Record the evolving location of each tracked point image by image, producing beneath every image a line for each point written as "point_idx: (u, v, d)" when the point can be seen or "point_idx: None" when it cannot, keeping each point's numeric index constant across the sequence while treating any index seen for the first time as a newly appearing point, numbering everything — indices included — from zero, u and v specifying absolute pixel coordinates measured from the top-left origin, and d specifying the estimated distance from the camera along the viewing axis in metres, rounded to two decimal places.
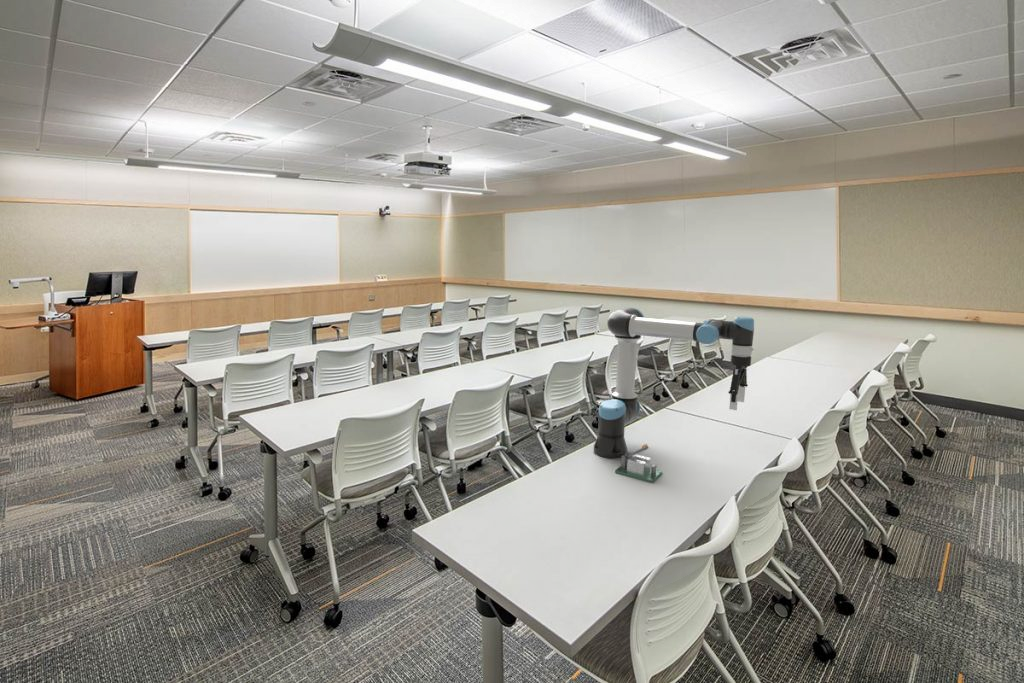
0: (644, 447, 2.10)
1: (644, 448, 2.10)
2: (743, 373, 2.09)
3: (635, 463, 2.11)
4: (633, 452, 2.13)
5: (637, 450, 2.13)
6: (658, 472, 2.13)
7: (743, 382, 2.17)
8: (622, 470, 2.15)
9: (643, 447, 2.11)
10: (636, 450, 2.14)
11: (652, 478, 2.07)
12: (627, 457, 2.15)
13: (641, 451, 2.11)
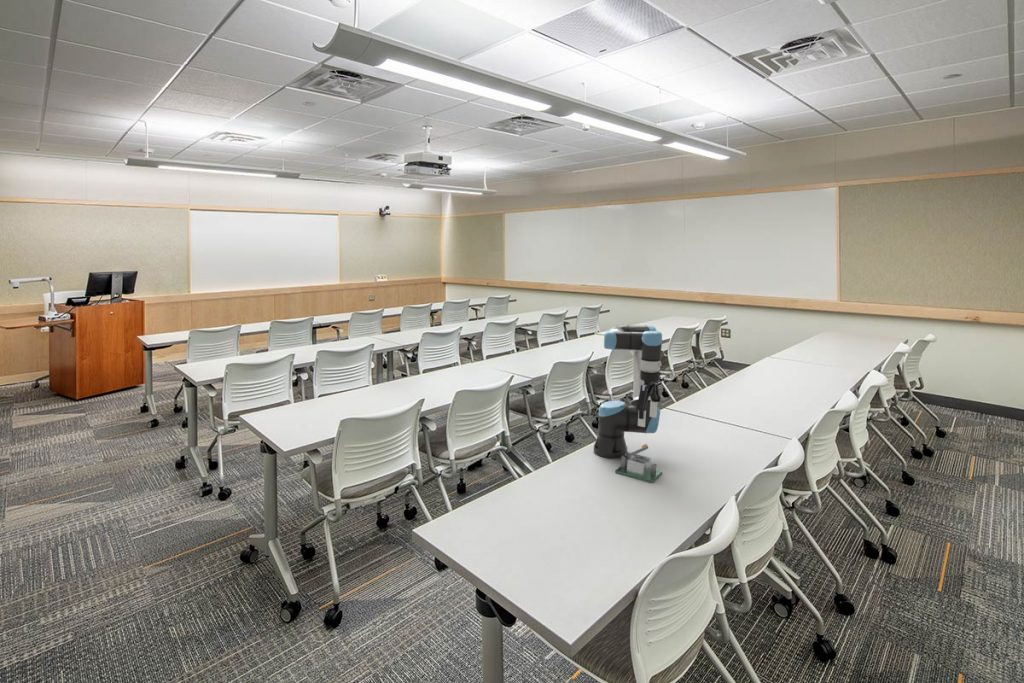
0: (644, 447, 2.10)
1: (644, 448, 2.10)
2: (651, 389, 2.04)
3: (635, 463, 2.11)
4: (633, 452, 2.13)
5: (637, 450, 2.13)
6: (658, 472, 2.13)
7: (655, 397, 2.12)
8: (622, 470, 2.15)
9: (643, 447, 2.11)
10: (636, 450, 2.14)
11: (652, 478, 2.07)
12: (627, 457, 2.15)
13: (641, 451, 2.11)
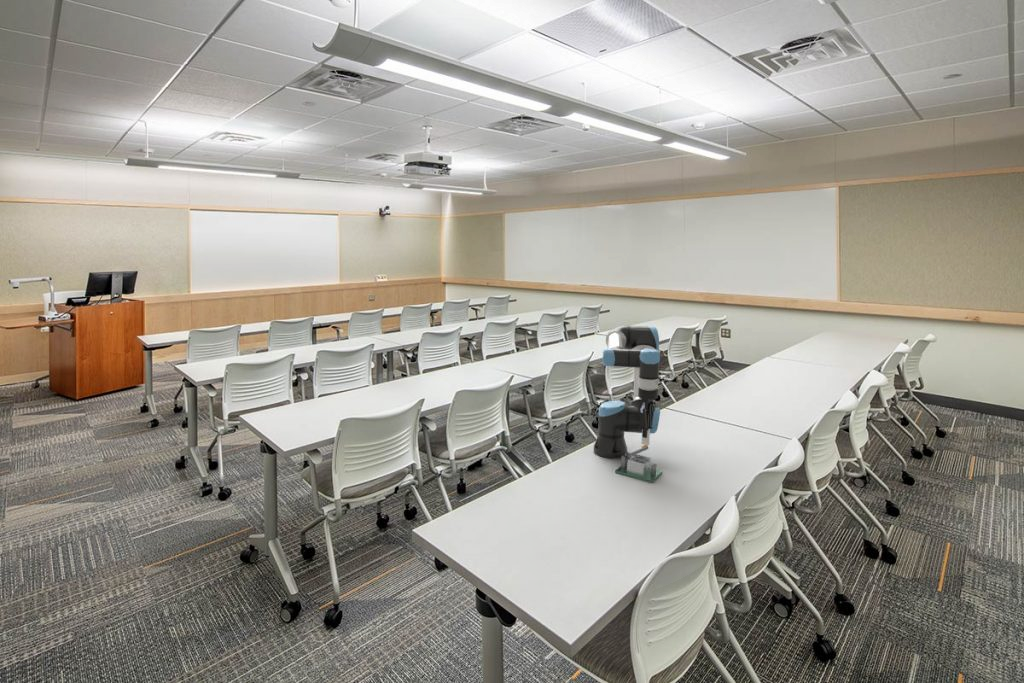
0: (644, 447, 2.10)
1: (644, 448, 2.10)
2: (650, 407, 2.06)
3: (635, 463, 2.11)
4: (633, 452, 2.13)
5: (637, 450, 2.13)
6: (658, 472, 2.13)
7: None
8: (622, 470, 2.15)
9: (643, 447, 2.11)
10: (637, 450, 2.14)
11: (652, 478, 2.07)
12: (627, 457, 2.15)
13: (641, 451, 2.11)
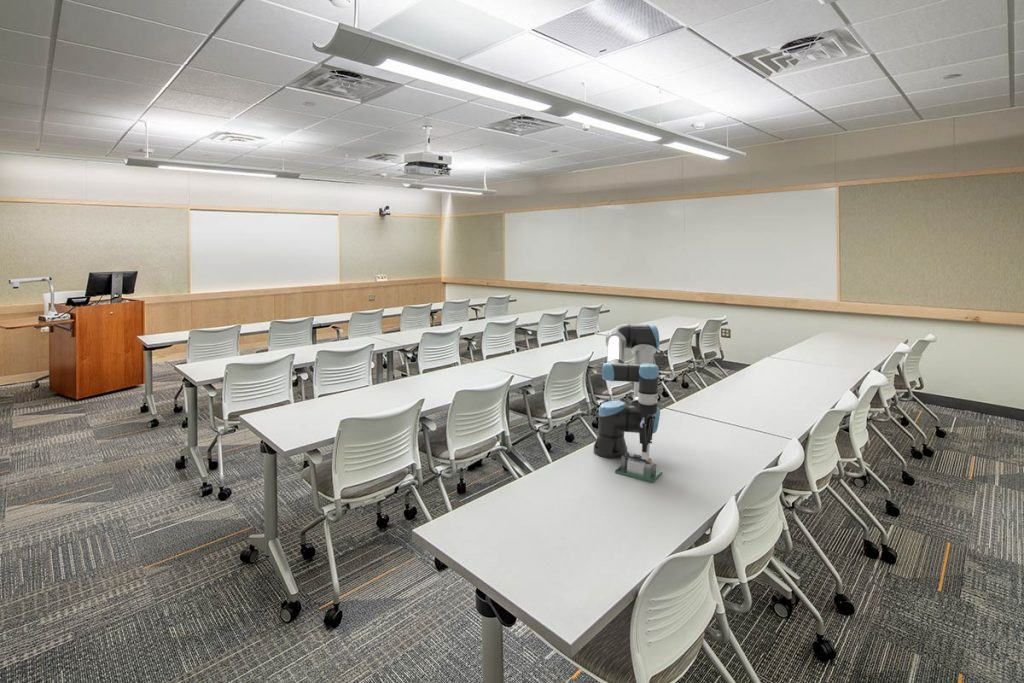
0: (648, 462, 2.10)
1: (648, 462, 2.10)
2: (649, 422, 2.07)
3: (635, 463, 2.11)
4: (635, 459, 2.13)
5: (640, 459, 2.13)
6: (658, 472, 2.13)
7: None
8: (622, 470, 2.15)
9: (647, 461, 2.10)
10: (639, 458, 2.14)
11: (652, 478, 2.07)
12: None
13: None
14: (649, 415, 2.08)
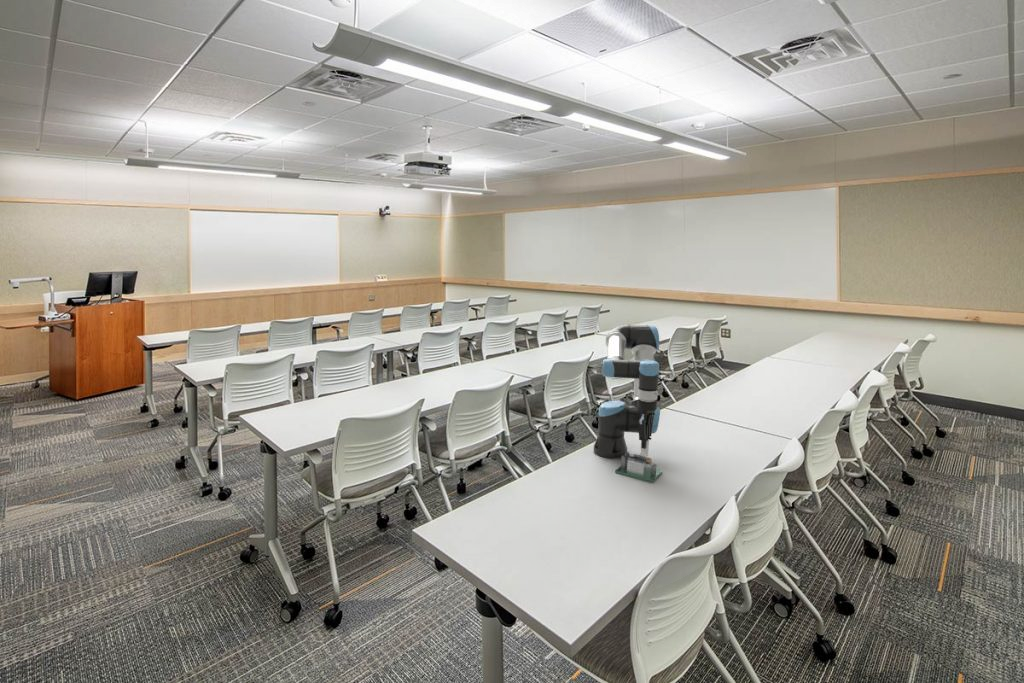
0: (648, 462, 2.10)
1: (648, 462, 2.10)
2: (649, 419, 2.07)
3: (635, 463, 2.11)
4: (635, 459, 2.13)
5: (640, 459, 2.13)
6: (658, 472, 2.13)
7: None
8: (622, 470, 2.15)
9: (647, 461, 2.10)
10: (639, 458, 2.14)
11: (652, 478, 2.07)
12: None
13: None
14: (649, 412, 2.08)
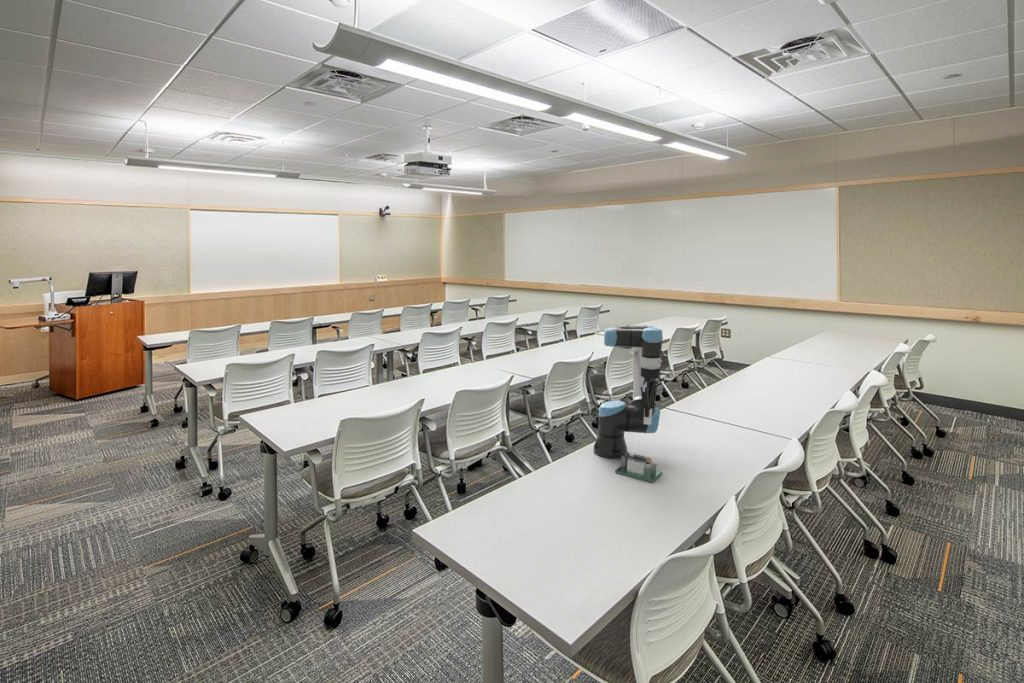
0: (648, 462, 2.10)
1: (648, 462, 2.10)
2: (652, 386, 2.05)
3: (635, 463, 2.11)
4: (635, 459, 2.13)
5: (640, 459, 2.13)
6: (658, 472, 2.13)
7: None
8: (622, 470, 2.15)
9: (647, 461, 2.10)
10: (639, 458, 2.14)
11: (652, 478, 2.07)
12: None
13: None
14: (652, 380, 2.06)
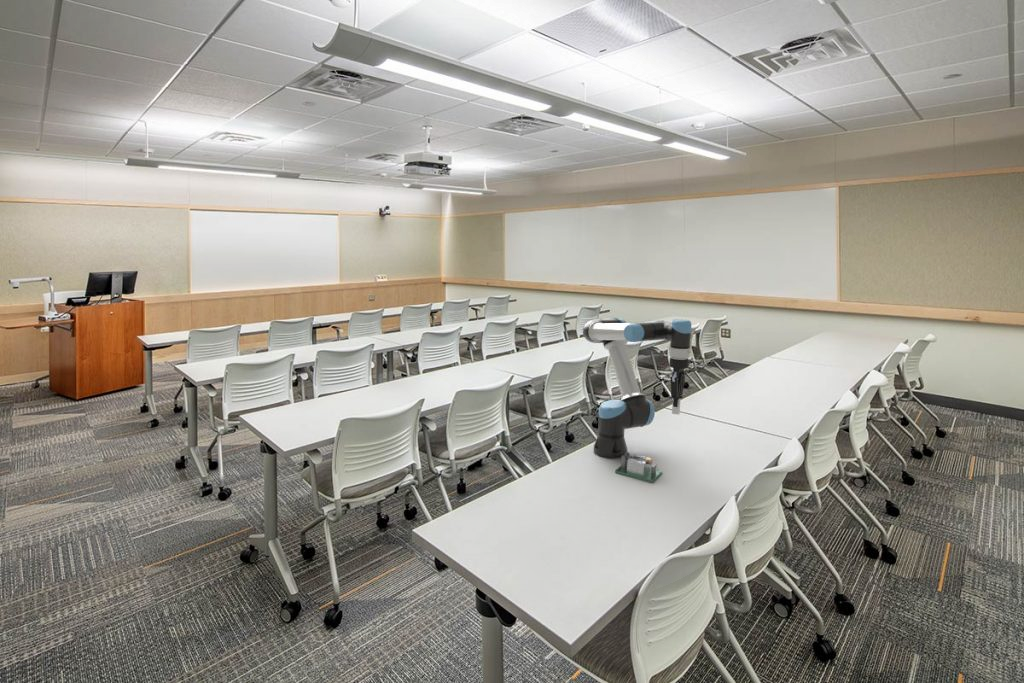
0: (648, 462, 2.10)
1: (648, 462, 2.10)
2: (681, 377, 2.09)
3: (635, 463, 2.11)
4: (635, 459, 2.13)
5: (640, 459, 2.13)
6: (658, 472, 2.13)
7: None
8: (622, 470, 2.15)
9: (647, 461, 2.10)
10: (639, 458, 2.14)
11: (652, 478, 2.07)
12: None
13: None
14: (681, 370, 2.10)
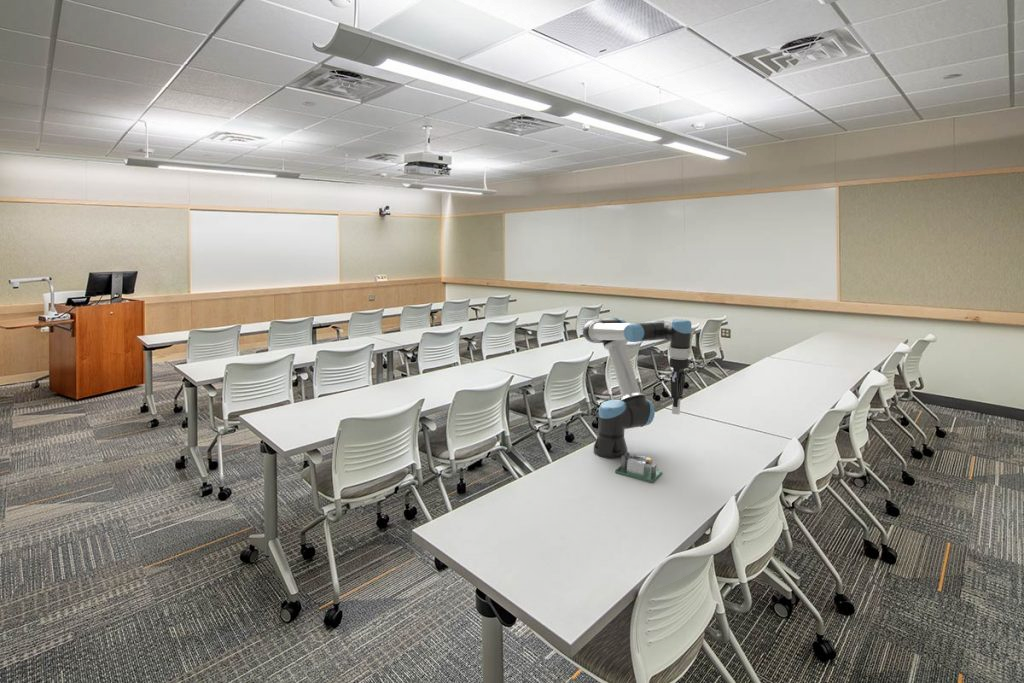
0: (648, 462, 2.10)
1: (648, 462, 2.10)
2: (681, 377, 2.09)
3: (635, 463, 2.11)
4: (635, 459, 2.13)
5: (640, 459, 2.13)
6: (658, 472, 2.13)
7: None
8: (622, 470, 2.15)
9: (647, 461, 2.10)
10: (639, 458, 2.14)
11: (652, 478, 2.07)
12: None
13: None
14: (681, 370, 2.10)
